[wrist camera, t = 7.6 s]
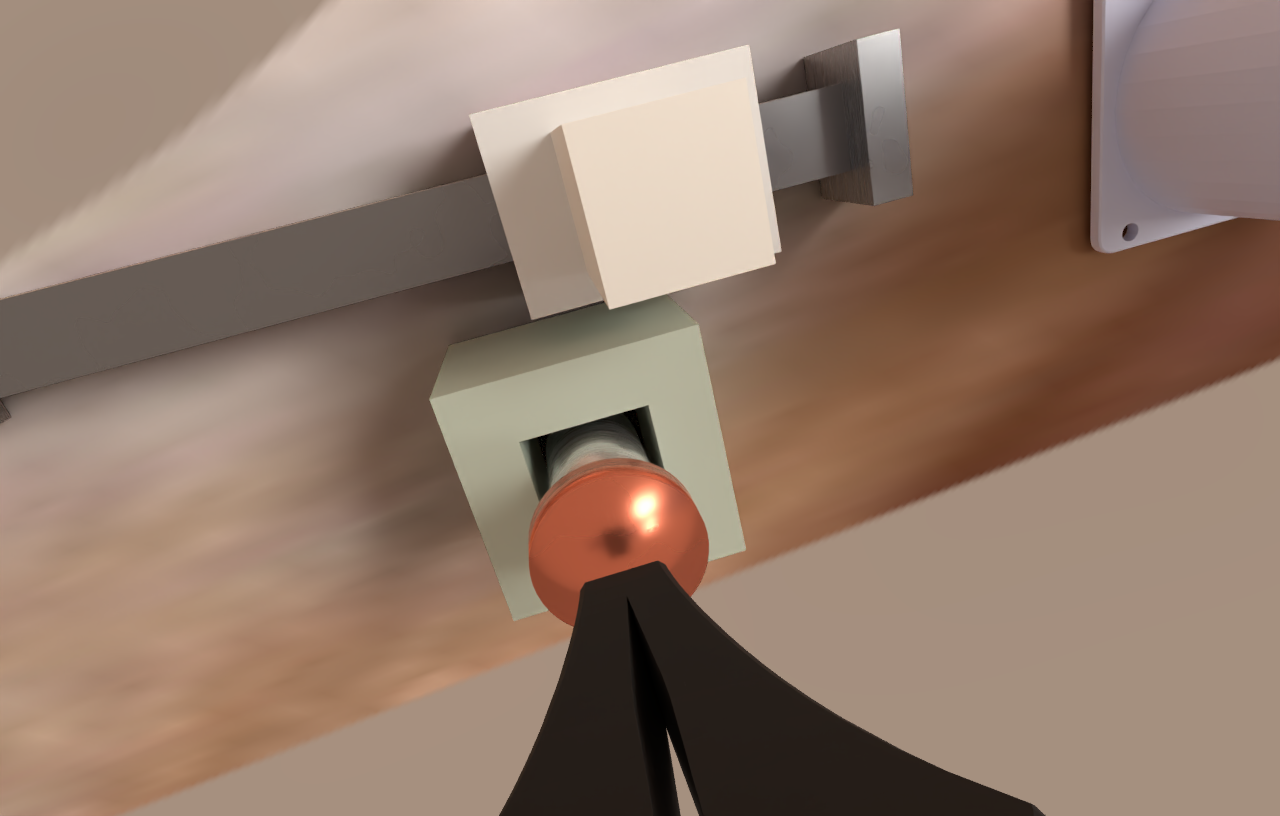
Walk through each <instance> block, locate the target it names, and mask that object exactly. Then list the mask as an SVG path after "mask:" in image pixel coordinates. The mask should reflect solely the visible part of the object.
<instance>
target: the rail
mask: <svg viewBox="0 0 1280 816" xmlns="http://www.w3.org/2000/svg"><path fill="white" fill-rule="evenodd" d="M804 64H805V72H806V80H807V87H808V91H805V92H801V93H797V94H793V95H789V96H785V97H781V98H778V99H774V100H770V101H766V102H762V103H758V104H759V110H760V117H761V123H762V129H763V136H764V142H765V149H766V155H767V161H768V168H769V174H770V181H771V187H772V191H776V190H780V189H784V188H787V187H791V186H795V185H799V184H802V183H806V182H810V181H814V180H817V179H820V187H821V195H822V199H828V200H835V201H842V202H849V203H856V204H864V205H871V206H876V205H879V204H883V203H887V202H890V201H894V200H898V199H901V198H905V197H909V196H912V195H913V186H912V174H911V162H910V150H909V137H908V125H907V113H906V101H905V89H904V76H903V64H902V52H901V40H900V28H899V29H895V30H891V31H887V32H883V33H879V34H875V35H871V36H867V37H864V38H860V39H856V40H853V41H850V42H847V43H844V44H841V45H838V46H836V47H833V48H830V49H827V50H824V51H821V52H818V53H815V54H812V55H809V56H806V57H804ZM511 261H513V257H512V254H511V251H510V248H509V244H508V241H507V238H506V235H505V231H504V228H503V225H502V221H501V218H500V215H499V212H498V208H497V205H496V202H495V199H494V195H493V192H492V189H491V186H490V182H489V179H488V176H487V173H486V174H483V175H479V176H475V177H471V178H467V179H463V180H459V181H455V182H451V183H448V184H444V185H440V186H436V187H432V188H428V189H424V190H420V191H417V192H413V193H409V194H405V195H401V196H397V197H393V198H389V199H385V200H382V201H378V202H374V203H370V204H366V205H362V206H358V207H354V208H351V209H347V210H343V211H339V212H335V213H331V214H327V215H323V216H319V217H316V218H312V219H308V220H304V221H300V222H296V223H292V224H288V225H285V226H281V227H277V228H273V229H269V230H265V231H261V232H257V233H253V234H250V235H246V236H242V237H238V238H234V239H230V240H226V241H222V242H219V243H215V244H211V245H207V246H203V247H199V248H195V249H191V250H187V251H184V252H180V253H176V254H172V255H168V256H164V257H160V258H156V259H153V260H149V261H145V262H141V263H137V264H133V265H129V266H125V267H121V268H118V269H114V270H110V271H106V272H102V273H98V274H94V275H90V276H87V277H83V278H79V279H75V280H71V281H67V282H63V283H59V284H55V285H52V286H48V287H44V288H40V289H36V290H32V291H28V292H24V293H21V294H17V295H13V296H9V297H5V298H1V299H0V398H2V397H6V396H10V395H14V394H17V393H21V392H25V391H29V390H32V389H36V388H40V387H44V386H47V385H51V384H55V383H59V382H62V381H66V380H70V379H73V378H77V377H81V376H85V375H88V374H92V373H96V372H100V371H103V370H107V369H111V368H115V367H118V366H122V365H126V364H130V363H133V362H137V361H141V360H144V359H148V358H152V357H156V356H159V355H163V354H167V353H171V352H174V351H178V350H182V349H186V348H189V347H193V346H197V345H201V344H204V343H208V342H212V341H216V340H219V339H223V338H227V337H230V336H234V335H238V334H242V333H245V332H249V331H253V330H257V329H260V328H264V327H268V326H272V325H275V324H279V323H283V322H287V321H290V320H294V319H298V318H301V317H305V316H309V315H313V314H316V313H320V312H324V311H328V310H331V309H335V308H339V307H343V306H346V305H350V304H354V303H358V302H361V301H365V300H369V299H373V298H376V297H380V296H384V295H387V294H391V293H395V292H399V291H402V290H406V289H410V288H414V287H417V286H421V285H425V284H429V283H432V282H436V281H440V280H444V279H447V278H451V277H455V276H458V275H462V274H466V273H470V272H473V271H477V270H481V269H485V268H488V267H492V266H496V265H500V264H503V263H507V262H511ZM9 418H11V416H10V414H9V413H8V411H7V410H6V408H5V406H4V405H3V403H2V402H1V400H0V423H1V422H3V421H5V420H7V419H9Z"/></svg>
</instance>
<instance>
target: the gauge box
mask: <svg viewBox="0 0 1280 816" xmlns="http://www.w3.org/2000/svg"><path fill="white" fill-rule="evenodd" d="M429 400H430V403H431V405H432V408H433V411H434V413H435V416H436V418H437V421H438V424H439V426H440V429H441V432H442V434H443V437H444V439H445V442H446V445H447V447H448V450H449V452H450V455H451V458H452V460H453V463H454V466H455V468H456V471H457V473H458V476H459V479H460V481H461V484H462V487H463V489H464V492H465V494H466V497H467V500H468V502H469V505H470V508H471V510H472V513H473V515H474V518H475V521H476V523H477V526H478V529H479V531H480V534H481V536H482V539H483V542H484V544H485V547H486V549H487V552H488V555H489V557H490V560H491V563H492V565H493V568H494V570H495V573H496V576H497V578H498V581H499V584H500V586H501V589H502V591H503V594H504V597H505V599H506V602H507V605H508V607H509V610H510V612H511V615H512V618H513V620H514V621H516V620H519V619H523V618H526V617H529V616H532V615H536V614H539V613H542V612H546V611H549V610H548V609H547V608H546V607H545V605H544V604H543V603H542V602H541V600H540V598H539V597H538V595H537V594H536V591H535V589H534V587H533V584H532V581H531V577H530V570H529V551H528V536H529V528H530V523H531V519H532V517H533V514H534V511H535V509H536V507H537V505H538V503H539V502H540V500H541V499H542V497H543V496H544V495H545V493H546V492H547V491H548V490H549V481H548V470H547V467H546V464H545V461H544V457H543V454H542V451H541V448H540V445H539V442H538V439H537V437H539V436H542V435H546V434H549V433H553V432H556V431H560V430H563V429H567V428H570V427H573V426H577V425H580V424H584V423H587V422H591V421H594V420H598V419H601V418H605V417H608V416H612V415H615V414H619V413H622V412H626V411H629V410H633V409H635V410H636V413H637V417H638V421H639V425H640V429H641V433H642V437H643V440H644V445H642V446H643V449H644V451H645V453H646V456H647V458H648V460H649V462H650V463H652V464H654V465H657V466H659V467H661V468H663V469H665V470H666V471H668V472H670V473H671V474H672V475H673V476H675V477H676V478H677V479H678V480H679V481H680V482H681V483H682V484H683V485H684V486H685V488H686V489H687V491H688V492H689V494H690V495H691V497H692V499H693V501H694V503H695V505H696V507H697V509H698V511H699V513H700V515H701V517H702V519H703V521H704V523H705V526H706V529H707V533H708V539H709V556H708V562H709V561H713V560H716V559H719V558H722V557H726V556H729V555H732V554H735V553H739V552H742V551H745V550H746V547H745V542H744V537H743V532H742V528H741V523H740V518H739V513H738V509H737V504H736V499H735V494H734V490H733V485H732V480H731V475H730V471H729V466H728V461H727V456H726V452H725V447H724V442H723V437H722V433H721V428H720V423H719V418H718V414H717V409H716V404H715V399H714V395H713V390H712V385H711V380H710V376H709V371H708V366H707V361H706V357H705V352H704V347H703V342H702V338H701V333H700V328H699V324H698V323H697V322H696V321H695V320H694V319H692V318H691V317H690V316H689V315H688V314H687V313H686V312H685V311H684V310H683V309H682V308H681V307H680V306H678V305H677V304H676V303H675V302H674V301H673V300H672V299H671V298H670V297H669V296H668V295H667V294H665V295H661V296H657V297H654V298H650V299H647V300H643V301H639V302H636V303H632V304H628V305H625V306H621V307H618V308H614V309H610V310H609V308H608V306H607V305H606V303H602V304H598V305H594V306H591V307H587V308H583V309H580V310H576V311H572V312H569V313H565V314H561V315H558V316H554V317H551V318H547V319H543V320H540V321H536V322H532V323H529V324H525V325H521V326H518V327H514V328H510V329H507V330H503V331H500V332H496V333H492V334H489V335H485V336H481V337H478V338H474V339H470V340H467V341H463V342H459V343H456V344H452V345H449V347H448V349H447V352H446V355H445V358H444V360H443V363H442V366H441V369H440V371H439V374H438V377H437V380H436V383H435V385H434V388H433V391H432V394H431V396H430V399H429Z"/></svg>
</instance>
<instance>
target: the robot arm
mask: <svg viewBox="0 0 1280 816" xmlns="http://www.w3.org/2000/svg"><path fill="white" fill-rule="evenodd" d="M1238 217H1244V218H1256V219H1267V220H1279V221H1280V0H1094V6H1093V82H1092V157H1091V233H1090V240H1091V246H1092V247H1093V248H1094V250H1096V251H1098V252H1102V253H1115V252H1118V251H1122V250H1125V249H1129V248H1132V247H1136V246H1139V245H1143V244H1146V243H1150V242H1153V241H1157V240H1160V239H1164V238H1167V237H1171V236H1174V235H1178V234H1181V233H1185V232H1189V231H1192V230H1196V229H1199V228H1203V227H1206V226H1210V225H1213V224H1217V223H1220V222H1224V221H1227V220H1231V219H1234V218H1238ZM1126 225H1127V228H1128V229H1127V233H1126V234H1125V236H1124V237H1123V236H1122V233H1123V229H1124V228H1125V227H1126ZM666 728H667V731H668V733H669V736H670V739H671V742H672V744H673V747H674V750H675V752H676V755H677V757H678V760H679V763H680V766H681V768H682V771H683V774H684V776H685V779H686V782H687V784H688V787H689V790H690V792H691V795H692V798H693V800H694V803H695V806H696V808H697V811H698V814H699V816H1045V815H1044V814H1043V813H1042V812H1041V811H1040V810H1039V809H1038V808H1037V807H1036V806H1035V805H1033V804H1031V803H1028V802H1025V801H1023V800H1020V799H1018V798H1015V797H1012V796H1010V795H1007V794H1005V793H1002V792H999V791H997V790H994V789H992V788H989V787H986V786H983V785H981V784H979V783H976V782H973V781H971V780H968V779H966V778H963V777H960V776H958V775H955V774H953V773H950V772H948V771H945V770H943V769H941V768H939V767H936V766H935V765H933V764H930V763H928V762H926V761H924V760H922V759H920V758H917V757H915V756H913V755H911V754H909V753H907V752H905V751H903V750H901V749H899V748H897V747H895V746H893V745H892V744H889V743H888V742H886V741H884V740H882V739H880V738H878V737H877V736H875V735H873V734H871V733H869V732H867V731H866V730H864V729H862V728H860V727H858V726H856V725H855V724H853V723H851V722H849V721H847V720H845V719H843V718H842V717H840V716H838V715H837V714H835V713H834V712H832V711H830V710H829V709H827V708H825V707H824V706H822V705H821V704H819V703H818V702H816V701H814V700H813V699H811V698H810V697H808V696H807V695H805V694H804V693H802V692H801V691H799V690H798V689H797V688H795V687H793V686H792V685H791V684H789V683H788V682H786V681H785V680H783V679H782V678H781V677H779V676H778V675H777V674H775V673H774V672H773V671H771V670H770V669H769V668H768V667H766V666H765V665H764V664H762V663H761V662H760V661H759V660H757V659H756V658H755V657H754V656H753V655H751V654H750V653H749V652H748V651H746V650H745V649H744V648H743V647H742V646H740V645H739V644H738V643H737V642H736V641H735V640H734V639H733V638H731V637H730V636H729V635H728V634H727V633H726V632H725V631H724V630H723V629H722V628H721V627H720V626H719V625H717V624H716V623H715V622H714V621H713V620H712V619H711V618H710V617H709V616H708V615H707V614H706V613H705V612H704V611H703V610H702V609H701V608H700V607H699V606H698V605H697V604H696V603H695V602H694V601H693V600H692V598H691V597H690V596H689V595H688V594H687V593H686V591H685V590H684V589H683V588H682V587H681V586H680V584H679V583H678V582H677V581H676V579H675V578H674V577H673V575H672V574H671V572H670V571H669V569H668V568H667V566H666V564H664V563H662V562H660V561H658V560H657V561H654V562H651V563H648V564H644V565H641V566H638V567H634V568H631V569H628V570H625V571H621V572H618V573H615V574H611V575H608V576H605V577H602V578H598V579H595V580H592V581H588V582H585V584H584V585H583V587H582V588H581V590H580V597H579V604H578V610H577V615H576V620H575V624H574V628H573V633H572V637H571V641H570V644H569V648H568V651H567V654H566V658H565V661H564V665H563V668H562V671H561V675H560V678H559V681H558V684H557V687H556V690H555V692H554V695H553V698H552V700H551V703H550V706H549V708H548V711H547V714H546V716H545V719H544V722H543V725H542V727H541V729H540V732H539V734H538V737H537V739H536V741H535V744H534V746H533V748H532V751H531V753H530V755H529V757H528V760H527V762H526V764H525V766H524V768H523V770H522V772H521V774H520V776H519V778H518V781H517V783H516V785H515V787H514V789H513V791H512V793H511V794H510V796H509V798H508V800H507V802H506V804H505V806H504V808H503V809H502V811H501V813H500V815H499V816H680V809H679V803H678V797H677V791H676V785H675V779H674V773H673V767H672V761H671V754H670V749H669V742H668V737H667V731H666Z"/></svg>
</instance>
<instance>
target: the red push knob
mask: <svg viewBox="0 0 1280 816" xmlns="http://www.w3.org/2000/svg"><path fill="white" fill-rule="evenodd" d="M546 460H547V470H548V481H549V490H548V491H547V492H546V493H545V495H544V496H543V497H542V499H541V500H540V502H539V503H538V505H537V507H536V509H535V511H534V514H533V517H532V519H531V523H530V528H529V536H528V551H529V570H530V577H531V581H532V584H533V587H534V589H535V591H536V594H537V595H538V597H539V598H540V600H541V602H542V603H543V604H544V605H545V607H546V608H547V609H548V610H549V611H550V612H551V613H552V614H554V615H555V616H556V617H557V618H559V619H560V620H562V621H563V622H565V623H567V624H569V625H571V626H573V627H574V624H575V620H576V615H577V610H578V604H579V597H580V590H581V588H582V587H583V585H584V584H585V582H588V581H592V580H595V579H598V578H602V577H605V576H608V575H611V574H615V573H618V572H621V571H625V570H628V569H631V568H634V567H638V566H641V565H644V564H648V563H651V562H654V561H657V560H658V561H660V562H662V563H664V564H666V566H667V568H668V569H669V571H670V572H671V574H672V575H673V577H674V578H675V579H676V581H677V582H678V583H679V584H680V586H681V587H682V588H683V589H684V590H685V591H686V593H687V594H688V595H689V596H690V597H691V596H692V594H693V593H694V592H695V590H696V589H697V587H698V585H699V584H700V582H701V580H702V578H703V575H704V573H705V570H706V566H707V563H708V556H709V539H708V533H707V529H706V526H705V523H704V521H703V519H702V517H701V515H700V513H699V511H698V509H697V507H696V505H695V503H694V501H693V499H692V497H691V495H690V494H689V492H688V491H687V489H686V488H685V486H684V485H683V484H682V483H681V482H680V481H679V480H678V479H677V478H676V477H675V476H673V475H672V474H671V473H670V472H668V471H666V470H665V469H663V468H661V467H659V466H657V465H654V464H652V463H650V462H649V460H648V458H647V456H646V453H645V451H644V449H643V446H642V444H641V442H640V439H639V437H638V435H637V433H636V430H635V428H634V426H633V424H632V423H631V421H630V420H629V419H628V418H627V417H626V416H625V415H624V414H623V413H619V414H615V415H612V416H608V417H605V418H601V419H598V420H594V421H591V422H587V423H584V424H580V425H577V426H573V427H570V428H567V429H563V430H560V431H556V432H553V433H549V434H548V436H547V440H546Z"/></svg>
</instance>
